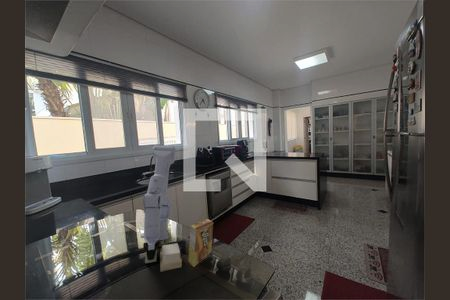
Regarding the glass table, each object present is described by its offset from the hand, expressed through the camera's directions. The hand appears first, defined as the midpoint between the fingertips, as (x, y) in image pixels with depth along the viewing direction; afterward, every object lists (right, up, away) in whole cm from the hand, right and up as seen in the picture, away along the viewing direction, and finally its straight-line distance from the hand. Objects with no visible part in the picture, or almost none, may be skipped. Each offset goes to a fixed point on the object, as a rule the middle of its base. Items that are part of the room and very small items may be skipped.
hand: (151, 255), depth 68 cm
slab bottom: (+8, -3, -1) cm, 8 cm away
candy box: (+19, -3, +2) cm, 20 cm away
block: (0, -1, 0) cm, 1 cm away
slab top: (+8, 0, -1) cm, 8 cm away
